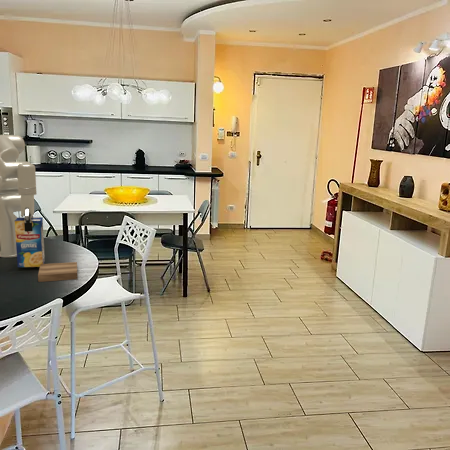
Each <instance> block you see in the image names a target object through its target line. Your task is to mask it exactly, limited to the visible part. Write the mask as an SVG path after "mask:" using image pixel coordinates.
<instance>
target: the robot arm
mask: <svg viewBox="0 0 450 450" xmlns="http://www.w3.org/2000/svg"><path fill="white" fill-rule="evenodd" d="M25 148H26V144H25V140H24V138H23V137H22V136H21V135H17V134H0V257H1V258H17V249H16V234H15V220H16V219H17V218H18V217H17V216H16V215H15V213H17V212H20V216H21V217H20V218H24V217H25V223H24V226H25V231H33V229H32V223H31V217H34V215H35V196H36V195H37V178H36V177H37V175H36V166H35V164H33V163H31V162H29V161H17V160H18V158H19V156H20V155H21V154H22V153H23V152H24V151H25Z"/></svg>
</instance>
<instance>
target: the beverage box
mask: <svg viewBox="0 0 450 450" xmlns="http://www.w3.org/2000/svg"><path fill="white" fill-rule="evenodd" d="M24 223H25V216H23V217H17V219H16V220H15V234H16V249H17V257H16V262H17V268H36V267H37V268H40V264H45V262H46V261H45V257H46V256H45V241H44V219H43V217H42V216H41V217H40V216H39V217H34V216H33V217H31V223H32V229H33V231H25V226H24Z"/></svg>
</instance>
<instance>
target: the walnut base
mask: <svg viewBox="0 0 450 450" xmlns="http://www.w3.org/2000/svg"><path fill="white" fill-rule="evenodd" d="M70 280H71V281H72V280H73V281H74V280H78V261H71V262H54V263H53V262H52V263H44V264H40V267H39V269H38V274H37V281H38V282H39V283H44V282H57V281H58V282H59V281H70Z"/></svg>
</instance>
